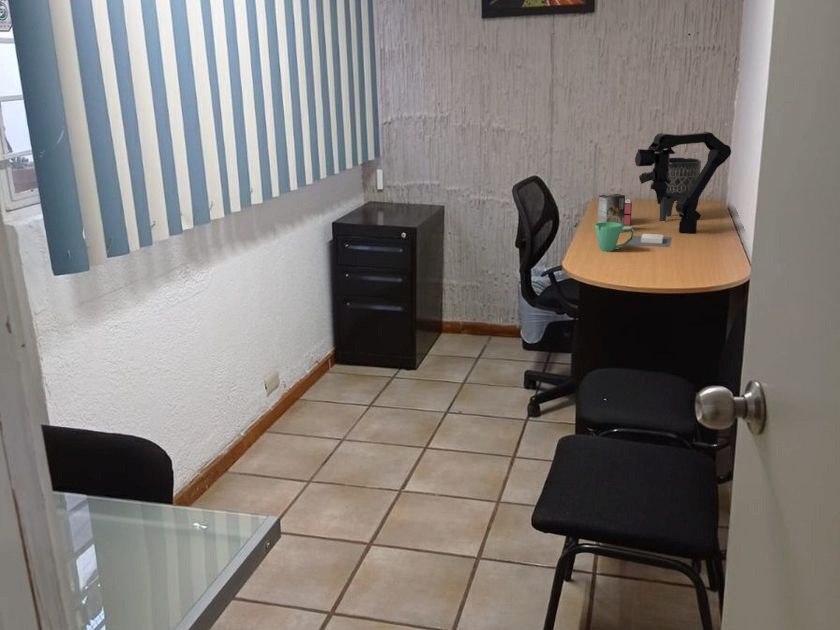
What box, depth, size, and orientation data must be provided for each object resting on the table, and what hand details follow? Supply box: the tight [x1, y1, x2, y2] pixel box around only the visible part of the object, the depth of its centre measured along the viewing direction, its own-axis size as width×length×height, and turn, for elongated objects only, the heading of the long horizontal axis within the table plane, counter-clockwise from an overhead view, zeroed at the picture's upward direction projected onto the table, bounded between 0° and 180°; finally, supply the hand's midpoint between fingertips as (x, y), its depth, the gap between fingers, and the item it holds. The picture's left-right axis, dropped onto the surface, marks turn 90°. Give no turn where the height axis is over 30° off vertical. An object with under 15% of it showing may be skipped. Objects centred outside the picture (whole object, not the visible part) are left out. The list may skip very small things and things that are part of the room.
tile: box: [641, 233, 664, 244], centre depth 323 cm, size 8×2×8 cm
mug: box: [594, 222, 635, 253], centre depth 311 cm, size 15×10×10 cm
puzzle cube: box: [624, 198, 633, 226], centre depth 361 cm, size 10×10×10 cm
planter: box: [654, 157, 702, 222], centre depth 363 cm, size 20×20×26 cm
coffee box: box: [597, 193, 626, 233], centre depth 341 cm, size 9×6×16 cm
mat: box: [626, 235, 673, 248], centre depth 324 cm, size 16×18×1 cm
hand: (659, 203), depth 333 cm, fingers closed
